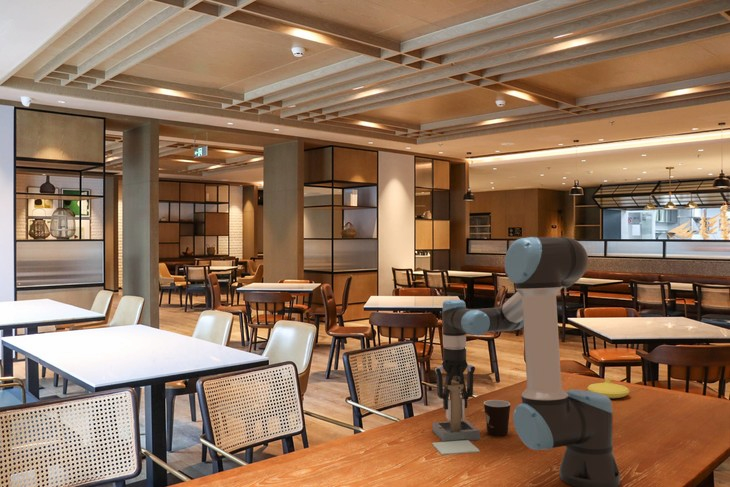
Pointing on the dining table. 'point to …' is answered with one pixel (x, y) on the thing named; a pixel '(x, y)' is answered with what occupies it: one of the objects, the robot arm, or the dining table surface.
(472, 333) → the robot arm
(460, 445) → the mat
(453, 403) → the handle
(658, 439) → the dining table surface
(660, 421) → the dining table surface
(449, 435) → the silver square frame
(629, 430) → the dining table surface
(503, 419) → the coffee mug
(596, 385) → the yellow pattypan squash
